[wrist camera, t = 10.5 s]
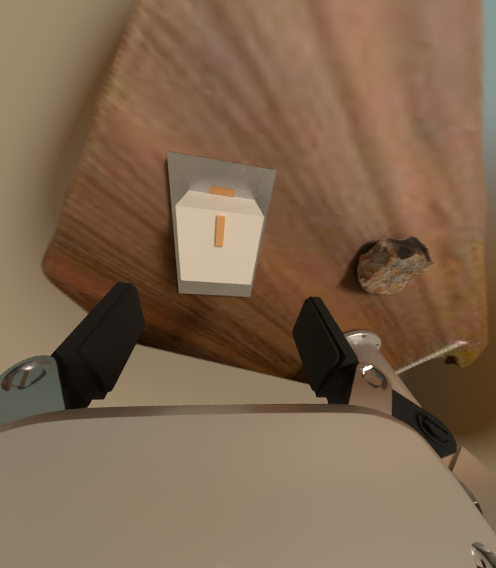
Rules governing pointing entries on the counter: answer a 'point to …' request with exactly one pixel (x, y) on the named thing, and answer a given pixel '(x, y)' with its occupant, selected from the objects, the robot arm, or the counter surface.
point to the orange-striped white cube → (217, 237)
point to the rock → (392, 264)
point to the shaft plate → (220, 181)
